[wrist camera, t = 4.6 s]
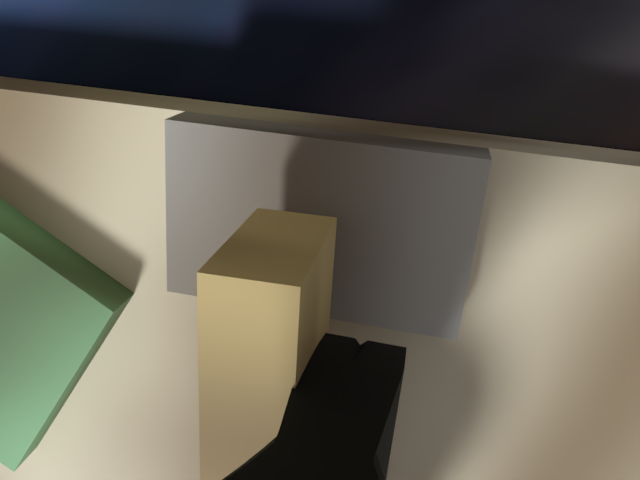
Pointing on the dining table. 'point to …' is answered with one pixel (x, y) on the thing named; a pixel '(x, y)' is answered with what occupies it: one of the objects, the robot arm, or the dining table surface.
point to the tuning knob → (258, 330)
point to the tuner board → (347, 285)
